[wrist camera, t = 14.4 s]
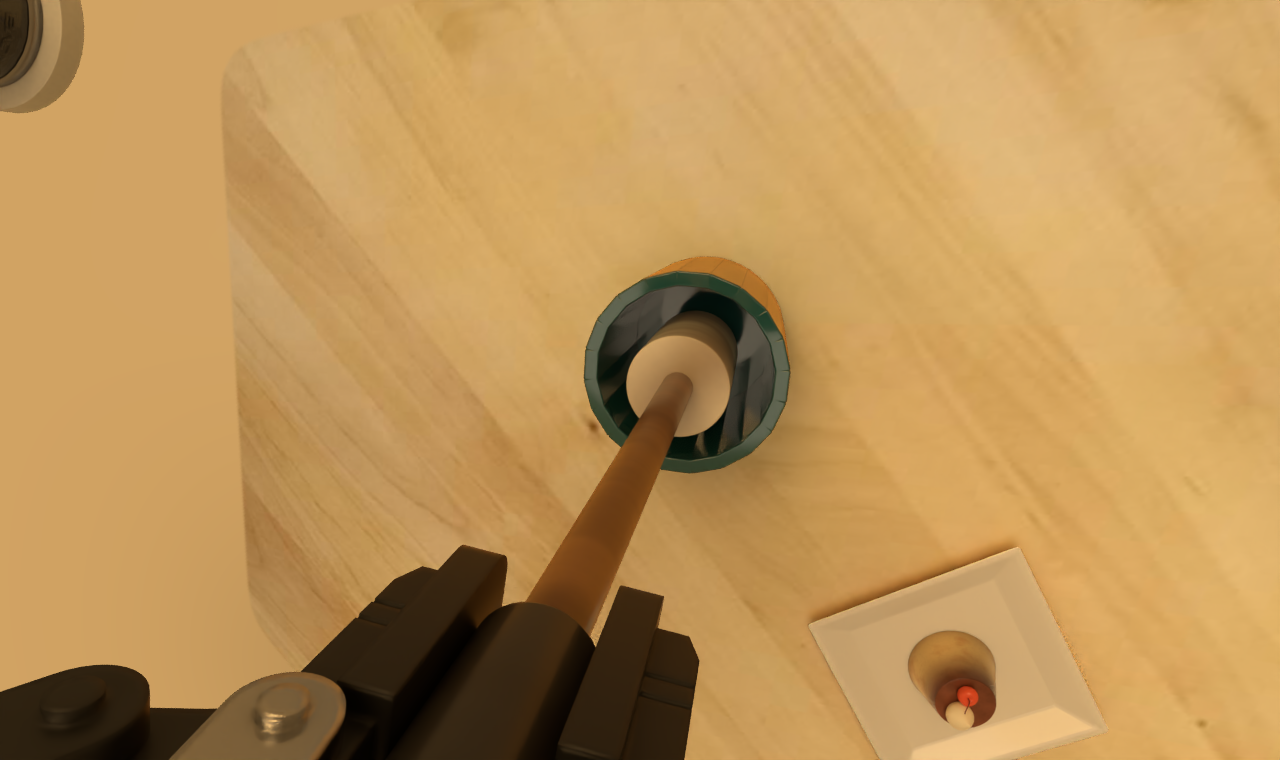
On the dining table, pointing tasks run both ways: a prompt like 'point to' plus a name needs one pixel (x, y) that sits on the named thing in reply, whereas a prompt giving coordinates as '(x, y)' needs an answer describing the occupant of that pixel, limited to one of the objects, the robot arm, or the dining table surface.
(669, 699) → the robot arm
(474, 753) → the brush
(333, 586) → the dining table surface
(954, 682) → the dessert
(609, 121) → the dining table surface
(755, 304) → the cup
